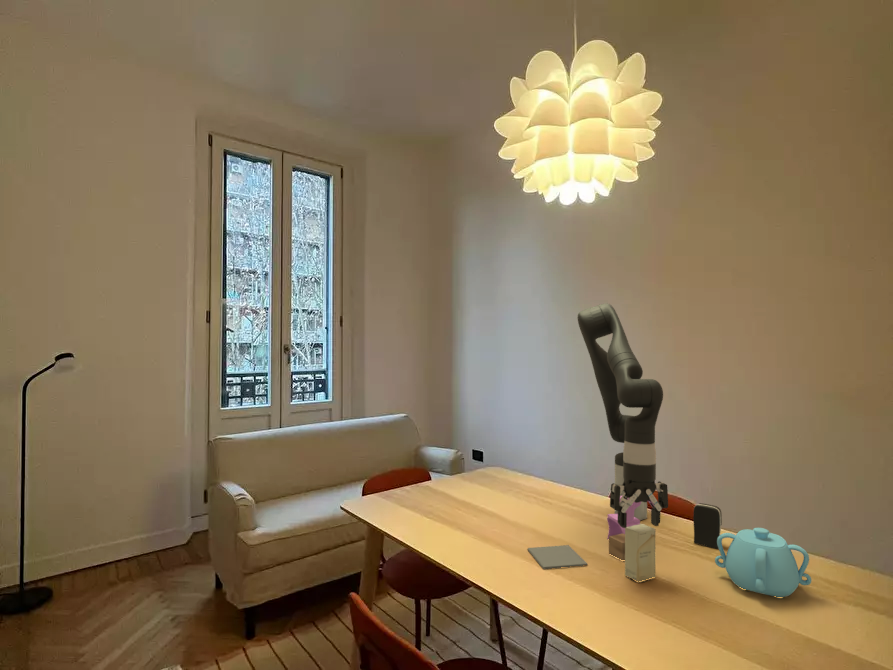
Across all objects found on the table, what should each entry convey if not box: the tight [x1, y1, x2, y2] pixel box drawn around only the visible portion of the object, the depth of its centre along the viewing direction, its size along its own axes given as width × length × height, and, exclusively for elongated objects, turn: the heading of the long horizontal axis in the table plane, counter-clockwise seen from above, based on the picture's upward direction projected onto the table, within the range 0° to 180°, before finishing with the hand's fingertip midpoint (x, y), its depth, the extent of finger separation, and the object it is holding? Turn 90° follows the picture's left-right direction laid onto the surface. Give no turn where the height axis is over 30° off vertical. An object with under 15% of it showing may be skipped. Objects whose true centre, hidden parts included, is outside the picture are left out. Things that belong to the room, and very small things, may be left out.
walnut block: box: [608, 533, 625, 560], centre depth 139 cm, size 5×5×5 cm
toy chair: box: [606, 495, 641, 540], centre depth 147 cm, size 8×9×15 cm
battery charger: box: [693, 502, 723, 550], centre depth 146 cm, size 7×4×11 cm, turn 49°
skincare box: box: [624, 523, 656, 582], centre depth 126 cm, size 6×4×12 cm
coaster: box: [527, 544, 589, 570], centre depth 137 cm, size 12×12×1 cm
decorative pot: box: [714, 527, 812, 598], centre depth 122 cm, size 16×16×14 cm
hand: (638, 526), depth 126 cm, fingers open, 8 cm apart
